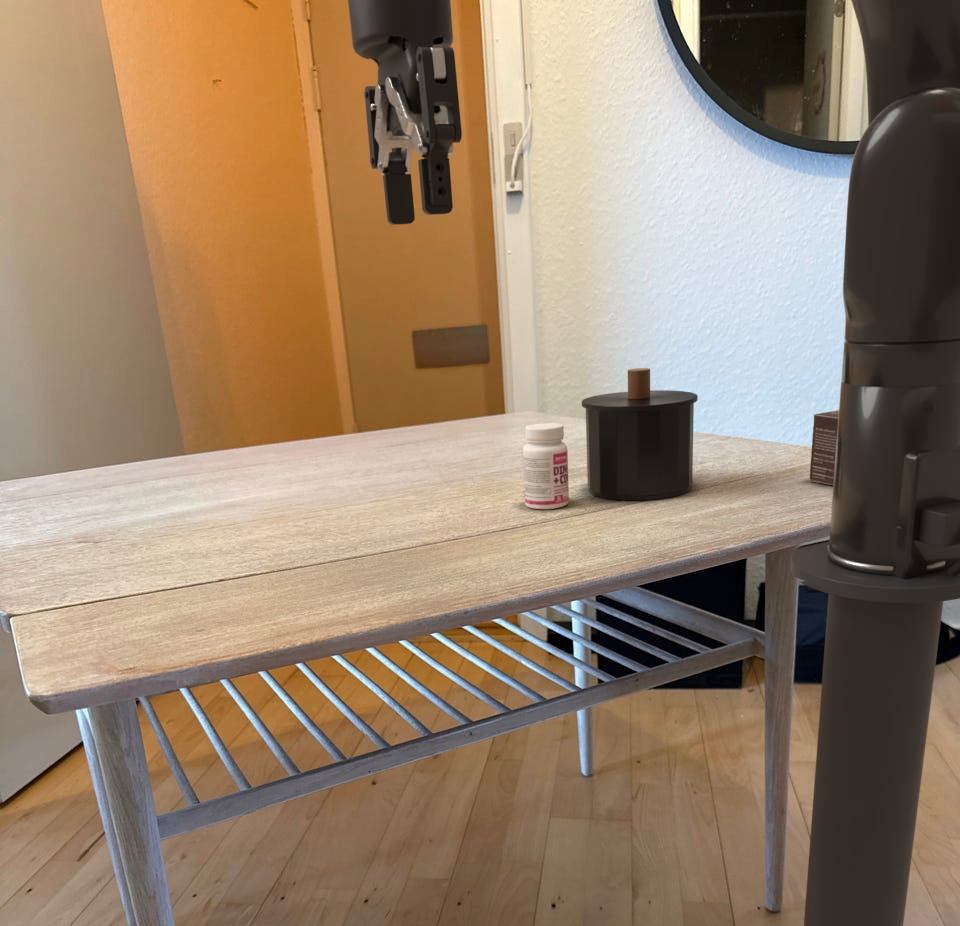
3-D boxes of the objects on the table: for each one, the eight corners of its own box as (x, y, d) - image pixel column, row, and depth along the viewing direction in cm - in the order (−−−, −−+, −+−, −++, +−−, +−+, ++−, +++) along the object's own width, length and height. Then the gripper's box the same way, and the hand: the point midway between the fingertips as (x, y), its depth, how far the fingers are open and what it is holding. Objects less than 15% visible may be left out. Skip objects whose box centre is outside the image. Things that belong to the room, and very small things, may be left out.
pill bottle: (563, 510, 96) (560, 429, 93) (519, 509, 98) (515, 430, 95) (573, 499, 100) (571, 421, 97) (532, 499, 102) (528, 422, 99)
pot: (712, 489, 100) (714, 401, 97) (622, 506, 96) (621, 414, 93) (654, 473, 110) (654, 392, 107) (570, 487, 106) (567, 403, 103)
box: (849, 473, 103) (854, 406, 100) (892, 481, 98) (899, 411, 95) (807, 481, 101) (812, 413, 98) (850, 490, 96) (855, 419, 93)
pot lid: (721, 406, 97) (722, 366, 95) (620, 421, 92) (619, 379, 91) (655, 397, 107) (655, 360, 106) (561, 409, 103) (560, 371, 102)
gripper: (483, -55, 62) (498, 208, 68) (412, 6, 74) (431, 224, 80) (377, -61, 59) (403, 213, 65) (322, 3, 72) (348, 229, 78)
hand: (418, 219), depth 73 cm, fingers open, 8 cm apart
